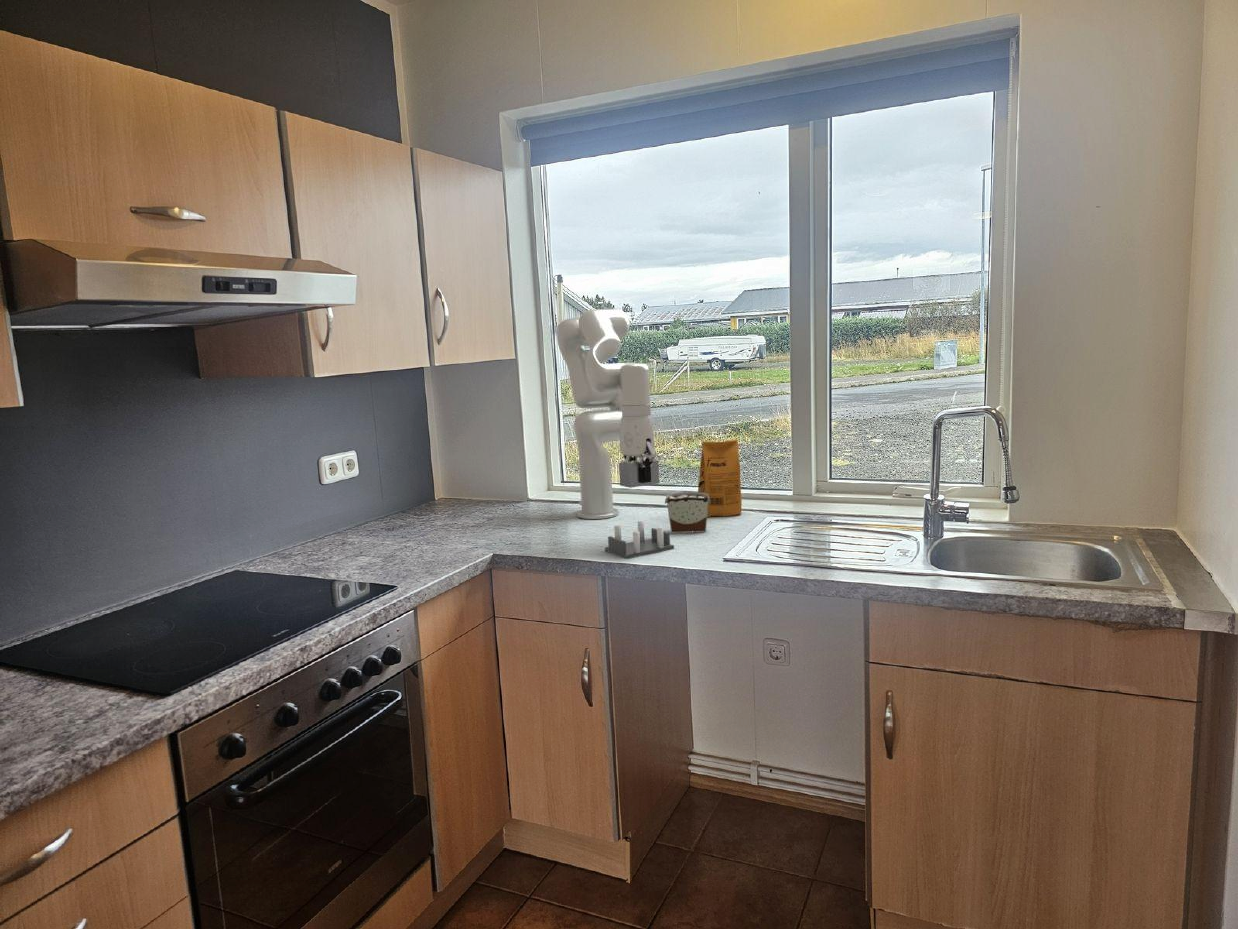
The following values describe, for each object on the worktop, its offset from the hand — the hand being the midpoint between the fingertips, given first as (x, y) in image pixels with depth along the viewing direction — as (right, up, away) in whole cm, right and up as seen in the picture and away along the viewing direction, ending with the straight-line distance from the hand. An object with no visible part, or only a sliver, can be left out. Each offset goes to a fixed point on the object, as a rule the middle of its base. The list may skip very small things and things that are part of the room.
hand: (639, 480), depth 211 cm
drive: (0, -1, 0) cm, 1 cm away
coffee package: (+25, -11, +28) cm, 39 cm away
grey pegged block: (0, -17, -9) cm, 19 cm away
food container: (+14, -14, +10) cm, 22 cm away
